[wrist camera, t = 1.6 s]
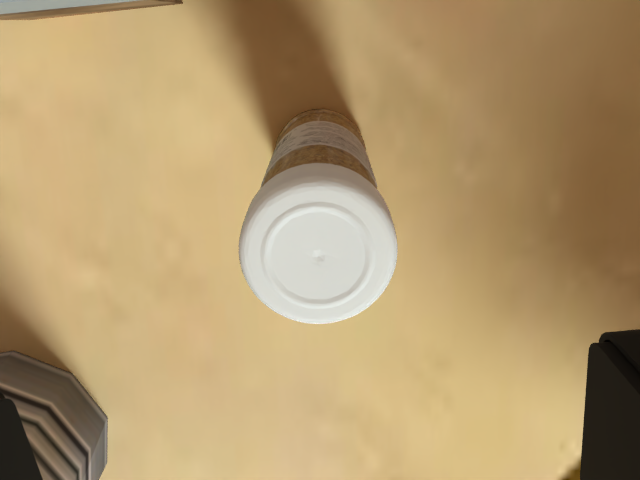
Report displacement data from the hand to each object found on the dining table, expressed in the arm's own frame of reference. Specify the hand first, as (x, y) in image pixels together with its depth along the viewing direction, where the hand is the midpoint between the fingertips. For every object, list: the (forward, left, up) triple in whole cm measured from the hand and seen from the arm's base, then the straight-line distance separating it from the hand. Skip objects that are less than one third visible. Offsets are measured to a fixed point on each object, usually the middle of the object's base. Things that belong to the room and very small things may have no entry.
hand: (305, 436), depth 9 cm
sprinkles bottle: (0, 0, -21) cm, 21 cm away
